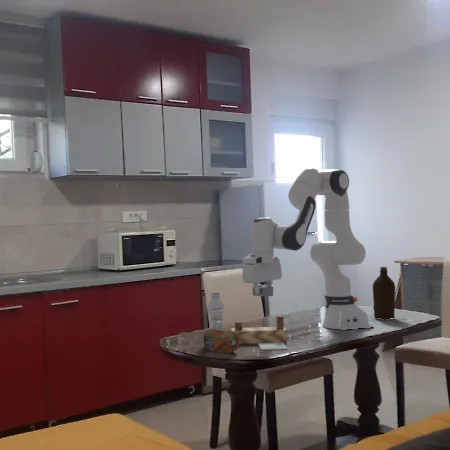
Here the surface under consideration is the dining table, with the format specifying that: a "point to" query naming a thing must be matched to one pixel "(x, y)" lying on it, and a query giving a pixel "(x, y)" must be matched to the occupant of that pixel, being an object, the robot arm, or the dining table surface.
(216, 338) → the tin
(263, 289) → the lever cap
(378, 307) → the olive oil
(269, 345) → the mat
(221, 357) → the dining table surface
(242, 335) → the body
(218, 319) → the plastic bottle
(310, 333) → the dining table surface
